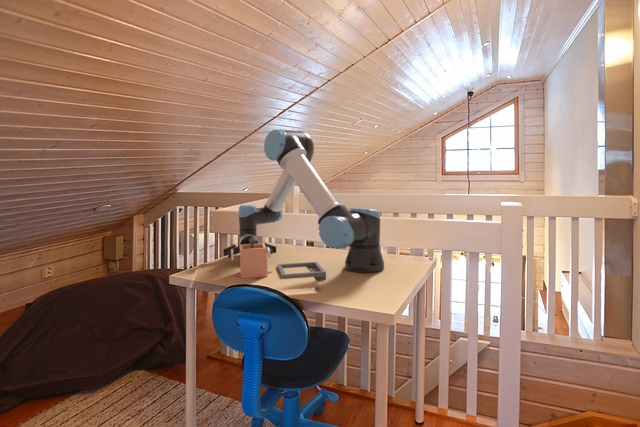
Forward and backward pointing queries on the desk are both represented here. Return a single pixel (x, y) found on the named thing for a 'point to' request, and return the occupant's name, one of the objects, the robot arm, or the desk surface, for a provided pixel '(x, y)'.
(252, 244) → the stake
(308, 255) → the desk surface
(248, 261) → the orange block
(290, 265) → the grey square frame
